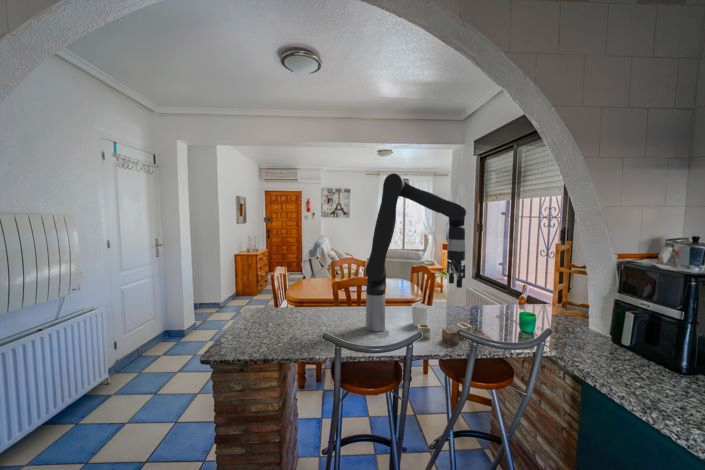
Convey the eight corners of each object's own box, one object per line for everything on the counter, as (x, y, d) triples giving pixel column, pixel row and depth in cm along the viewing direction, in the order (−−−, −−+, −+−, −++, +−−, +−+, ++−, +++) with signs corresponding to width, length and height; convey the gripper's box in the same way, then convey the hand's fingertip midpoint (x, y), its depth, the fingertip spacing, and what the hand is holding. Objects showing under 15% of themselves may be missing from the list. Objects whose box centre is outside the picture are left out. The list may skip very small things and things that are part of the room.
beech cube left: (418, 338, 124) (418, 327, 124) (417, 334, 129) (417, 323, 129) (430, 339, 124) (430, 327, 124) (428, 334, 129) (428, 324, 129)
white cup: (423, 328, 136) (424, 308, 136) (409, 325, 141) (409, 305, 141) (429, 324, 142) (430, 305, 142) (415, 321, 147) (415, 302, 147)
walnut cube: (448, 344, 118) (448, 333, 118) (442, 340, 123) (442, 328, 123) (458, 343, 119) (458, 332, 119) (452, 339, 124) (452, 328, 124)
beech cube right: (463, 338, 125) (463, 327, 125) (456, 334, 130) (456, 323, 130) (472, 337, 126) (472, 326, 126) (465, 333, 131) (465, 322, 131)
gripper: (442, 248, 132) (441, 282, 132) (454, 250, 117) (453, 288, 118) (457, 248, 132) (456, 282, 133) (471, 251, 118) (470, 289, 118)
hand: (455, 285), depth 125 cm, fingers open, 8 cm apart
